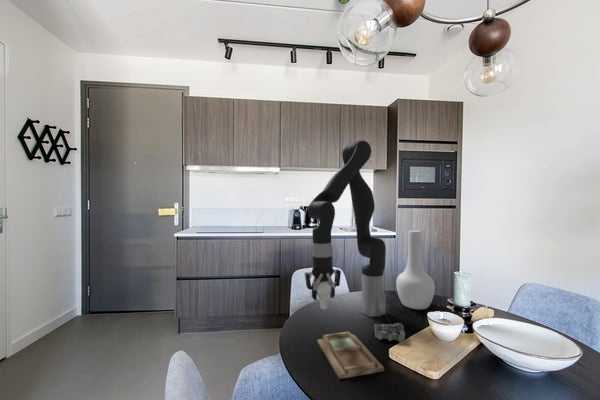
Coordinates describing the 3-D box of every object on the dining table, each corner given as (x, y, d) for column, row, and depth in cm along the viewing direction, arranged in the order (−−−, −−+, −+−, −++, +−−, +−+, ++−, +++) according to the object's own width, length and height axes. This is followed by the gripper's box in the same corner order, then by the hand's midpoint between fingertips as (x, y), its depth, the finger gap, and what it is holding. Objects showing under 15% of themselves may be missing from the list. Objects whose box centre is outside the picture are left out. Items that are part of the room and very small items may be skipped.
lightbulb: (331, 313, 99) (330, 283, 99) (314, 312, 100) (313, 282, 100) (332, 306, 105) (331, 278, 105) (316, 305, 106) (316, 277, 106)
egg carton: (403, 334, 102) (403, 323, 102) (405, 344, 95) (405, 332, 95) (374, 329, 105) (374, 319, 105) (373, 339, 98) (373, 328, 98)
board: (354, 337, 99) (353, 330, 99) (383, 371, 80) (383, 362, 80) (317, 342, 96) (317, 335, 96) (339, 379, 76) (339, 370, 76)
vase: (398, 310, 122) (398, 232, 122) (394, 296, 139) (394, 228, 138) (439, 313, 119) (439, 233, 118) (429, 299, 135) (429, 229, 134)
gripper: (336, 250, 107) (337, 292, 108) (301, 253, 104) (302, 297, 104) (344, 254, 100) (345, 299, 101) (306, 258, 97) (307, 304, 97)
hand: (323, 298), depth 102 cm, fingers closed on lightbulb, 6 cm apart
